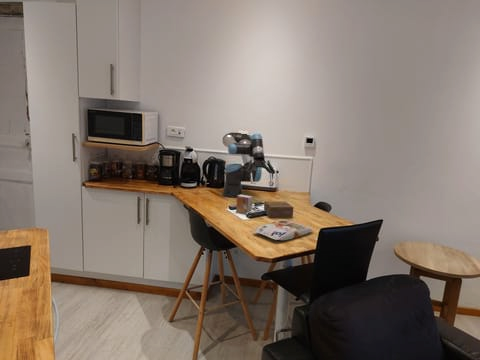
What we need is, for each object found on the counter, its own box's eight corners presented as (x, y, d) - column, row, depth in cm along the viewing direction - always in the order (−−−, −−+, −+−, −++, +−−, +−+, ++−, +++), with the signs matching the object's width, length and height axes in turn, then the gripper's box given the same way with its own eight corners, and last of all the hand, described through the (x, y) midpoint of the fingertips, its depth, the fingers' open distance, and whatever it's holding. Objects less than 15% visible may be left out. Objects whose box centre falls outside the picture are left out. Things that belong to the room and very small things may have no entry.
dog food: (288, 224, 202) (288, 216, 201) (315, 233, 189) (316, 224, 188) (250, 234, 182) (250, 225, 181) (277, 245, 169) (278, 235, 168)
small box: (235, 212, 220) (236, 195, 219) (240, 210, 225) (241, 194, 223) (247, 214, 217) (248, 197, 215) (251, 212, 222) (252, 196, 220)
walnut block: (263, 212, 225) (264, 201, 224) (284, 212, 228) (285, 201, 227) (270, 218, 211) (270, 207, 210) (292, 218, 214) (293, 207, 213)
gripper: (241, 151, 241) (244, 180, 232) (277, 152, 246) (281, 180, 237) (239, 156, 248) (242, 185, 239) (274, 157, 253) (278, 185, 244)
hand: (261, 182), depth 238 cm, fingers open, 13 cm apart
